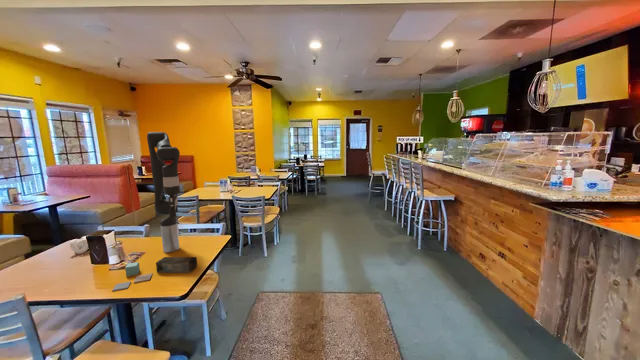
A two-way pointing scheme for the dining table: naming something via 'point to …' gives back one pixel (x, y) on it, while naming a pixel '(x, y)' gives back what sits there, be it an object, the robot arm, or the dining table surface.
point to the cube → (132, 269)
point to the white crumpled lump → (79, 245)
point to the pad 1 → (121, 286)
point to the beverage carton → (176, 265)
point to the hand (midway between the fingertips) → (174, 214)
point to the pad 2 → (143, 278)
